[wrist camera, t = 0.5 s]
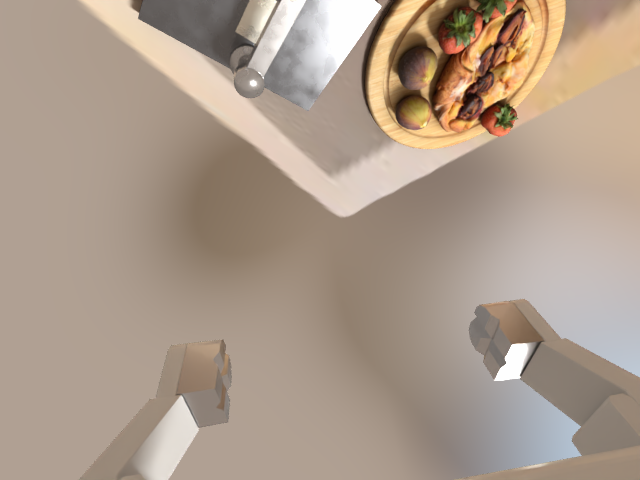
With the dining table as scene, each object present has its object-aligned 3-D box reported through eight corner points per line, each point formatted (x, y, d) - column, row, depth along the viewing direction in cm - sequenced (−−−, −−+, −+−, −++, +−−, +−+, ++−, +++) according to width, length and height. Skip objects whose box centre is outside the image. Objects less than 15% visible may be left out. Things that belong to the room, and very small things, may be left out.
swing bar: (255, 95, 49) (256, 103, 48) (229, 82, 47) (229, 89, 45) (345, -65, 36) (348, -60, 35) (314, -94, 34) (317, -90, 33)
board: (187, -167, 33) (183, -161, 29) (378, 1, 47) (389, 17, 44) (138, 17, 44) (132, 35, 40) (305, 108, 58) (309, 126, 55)
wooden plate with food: (557, 84, 63) (585, 108, 58) (400, 168, 73) (412, 195, 68) (561, -133, 40) (609, -124, 35) (329, 34, 50) (340, 59, 45)
